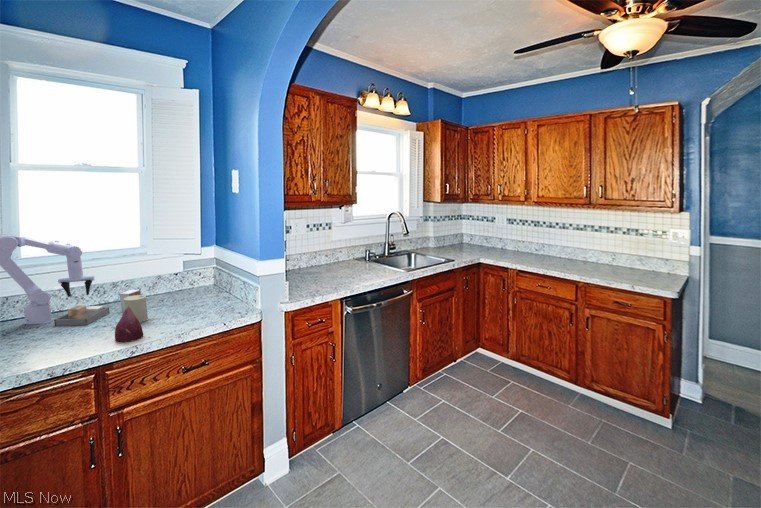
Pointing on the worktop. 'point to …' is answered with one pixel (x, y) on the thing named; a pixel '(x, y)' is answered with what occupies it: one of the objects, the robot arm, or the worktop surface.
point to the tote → (66, 321)
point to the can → (137, 306)
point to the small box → (127, 294)
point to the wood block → (77, 312)
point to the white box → (93, 310)
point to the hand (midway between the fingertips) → (78, 295)
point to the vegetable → (128, 327)
